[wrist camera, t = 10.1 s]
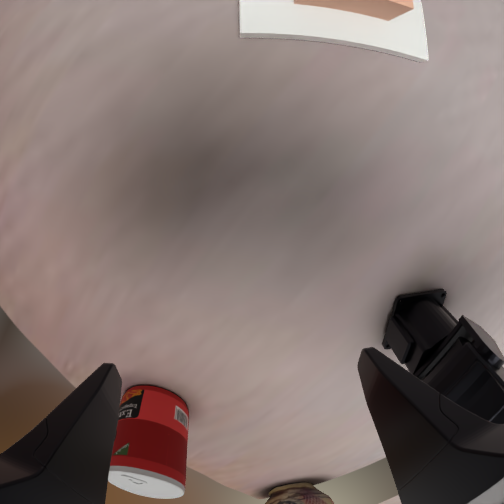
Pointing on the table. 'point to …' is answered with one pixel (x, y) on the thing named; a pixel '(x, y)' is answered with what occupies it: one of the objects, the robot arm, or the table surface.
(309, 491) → the ceramic jug
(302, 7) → the baseplate
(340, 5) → the base block
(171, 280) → the table surface
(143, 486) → the canned food
